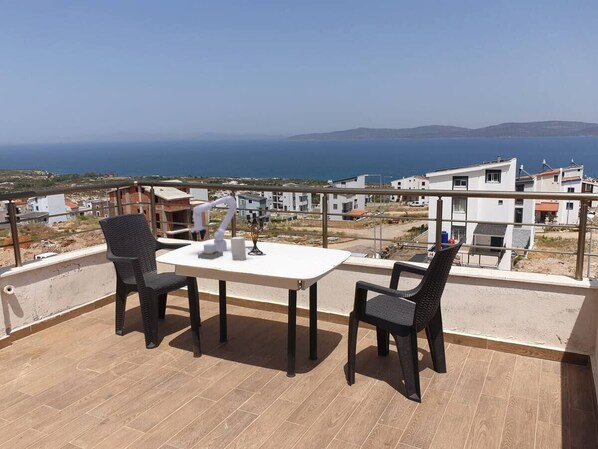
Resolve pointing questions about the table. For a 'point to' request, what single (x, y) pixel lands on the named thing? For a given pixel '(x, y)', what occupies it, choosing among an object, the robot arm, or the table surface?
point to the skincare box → (238, 248)
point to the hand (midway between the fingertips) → (198, 240)
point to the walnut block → (209, 253)
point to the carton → (210, 248)
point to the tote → (210, 256)
